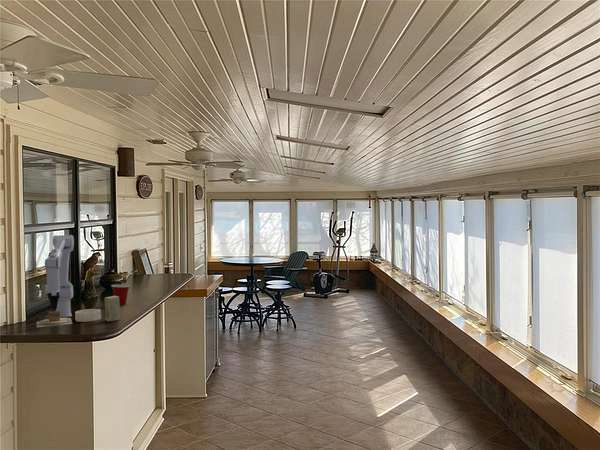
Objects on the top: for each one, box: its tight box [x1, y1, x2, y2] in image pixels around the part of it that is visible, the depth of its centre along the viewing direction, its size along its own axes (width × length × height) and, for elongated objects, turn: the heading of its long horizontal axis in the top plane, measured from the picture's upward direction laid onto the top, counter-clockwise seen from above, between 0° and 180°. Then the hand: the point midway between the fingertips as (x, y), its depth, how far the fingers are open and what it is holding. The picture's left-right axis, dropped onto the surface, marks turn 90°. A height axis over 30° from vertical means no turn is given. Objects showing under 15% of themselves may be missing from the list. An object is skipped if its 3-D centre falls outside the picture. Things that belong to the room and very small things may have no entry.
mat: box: [36, 317, 73, 328], centre depth 266 cm, size 16×16×1 cm
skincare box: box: [104, 295, 121, 322], centre depth 271 cm, size 6×4×12 cm
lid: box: [39, 310, 70, 326], centre depth 266 cm, size 14×14×6 cm
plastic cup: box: [111, 284, 131, 306], centre depth 318 cm, size 11×11×12 cm
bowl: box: [74, 308, 102, 323], centre depth 273 cm, size 12×12×4 cm
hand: (53, 308), depth 266 cm, fingers open, 7 cm apart
